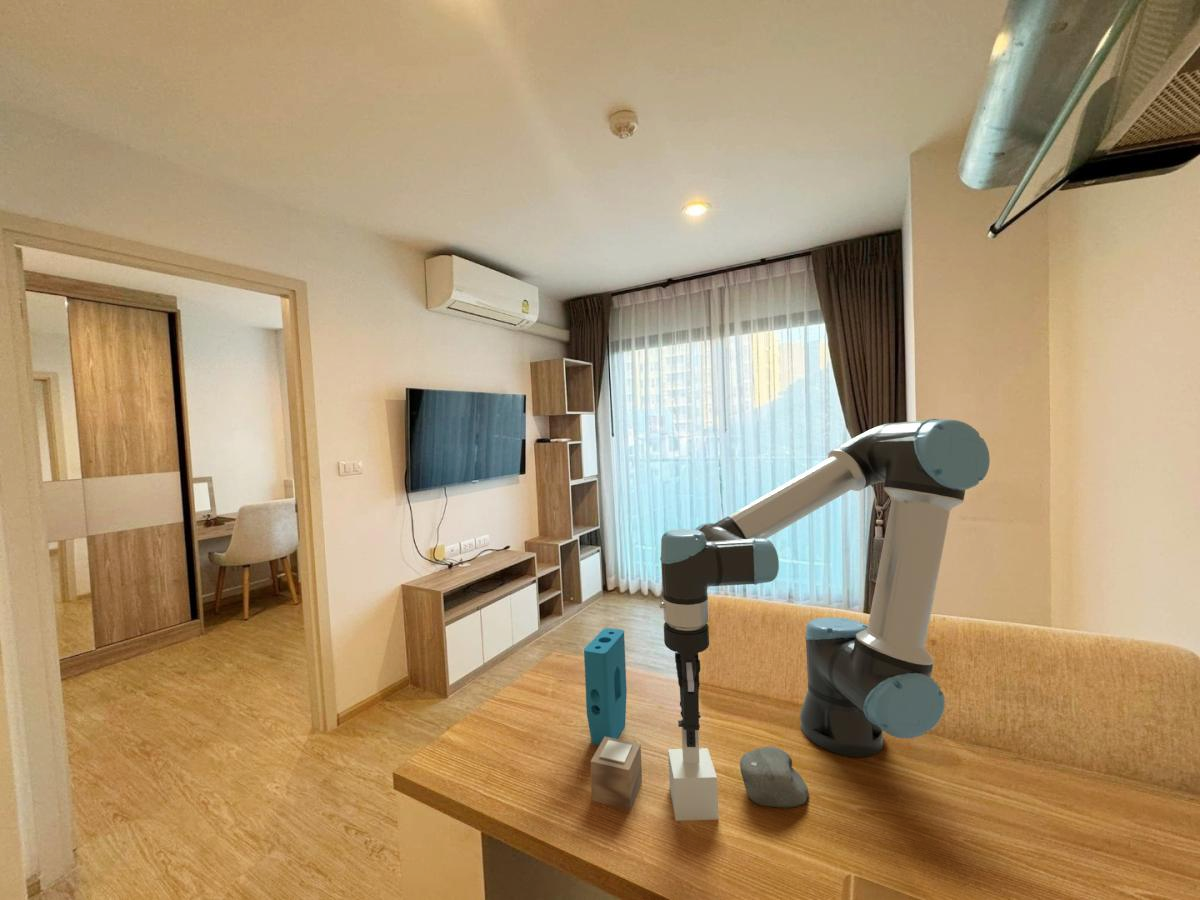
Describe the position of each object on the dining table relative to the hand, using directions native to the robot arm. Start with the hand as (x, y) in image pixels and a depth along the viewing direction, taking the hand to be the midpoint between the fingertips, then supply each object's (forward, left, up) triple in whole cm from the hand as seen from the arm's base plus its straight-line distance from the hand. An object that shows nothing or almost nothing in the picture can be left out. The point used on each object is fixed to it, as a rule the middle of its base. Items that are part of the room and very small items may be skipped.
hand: (691, 760), depth 77 cm
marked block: (+13, -2, -8) cm, 15 cm away
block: (+16, -18, -8) cm, 25 cm away
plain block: (0, 0, -8) cm, 8 cm away
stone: (-14, -3, -8) cm, 17 cm away
